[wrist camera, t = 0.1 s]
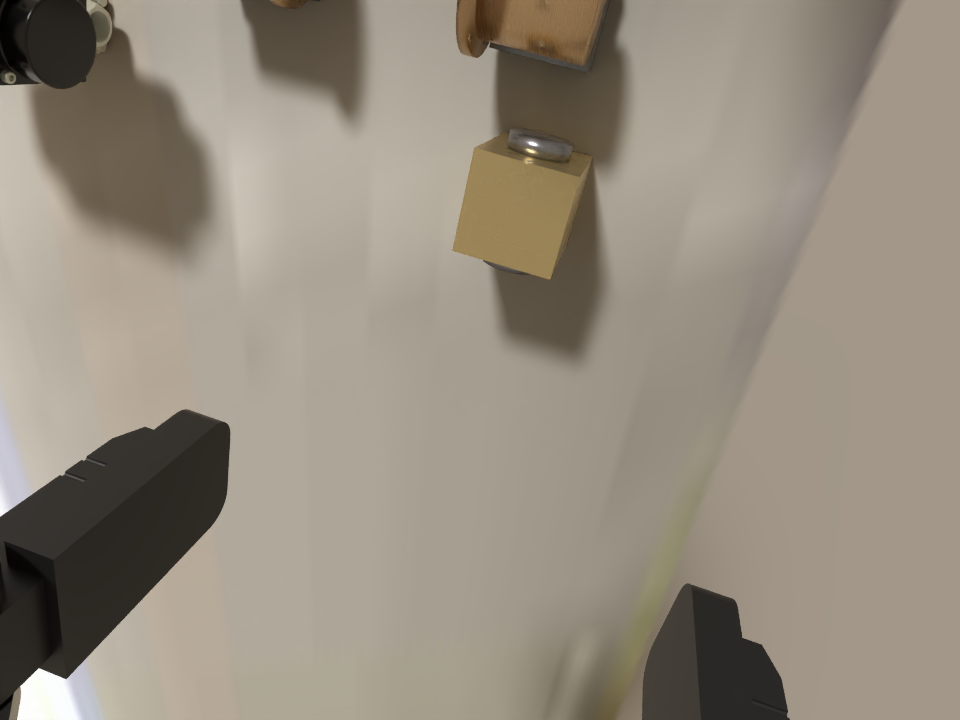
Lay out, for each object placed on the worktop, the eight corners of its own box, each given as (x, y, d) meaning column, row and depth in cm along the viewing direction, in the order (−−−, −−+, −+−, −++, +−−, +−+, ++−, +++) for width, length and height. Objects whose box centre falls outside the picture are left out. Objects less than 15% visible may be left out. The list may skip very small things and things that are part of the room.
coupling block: (508, 117, 36) (478, 129, 30) (597, 141, 35) (585, 159, 29) (482, 232, 39) (449, 265, 33) (563, 256, 38) (545, 295, 32)
